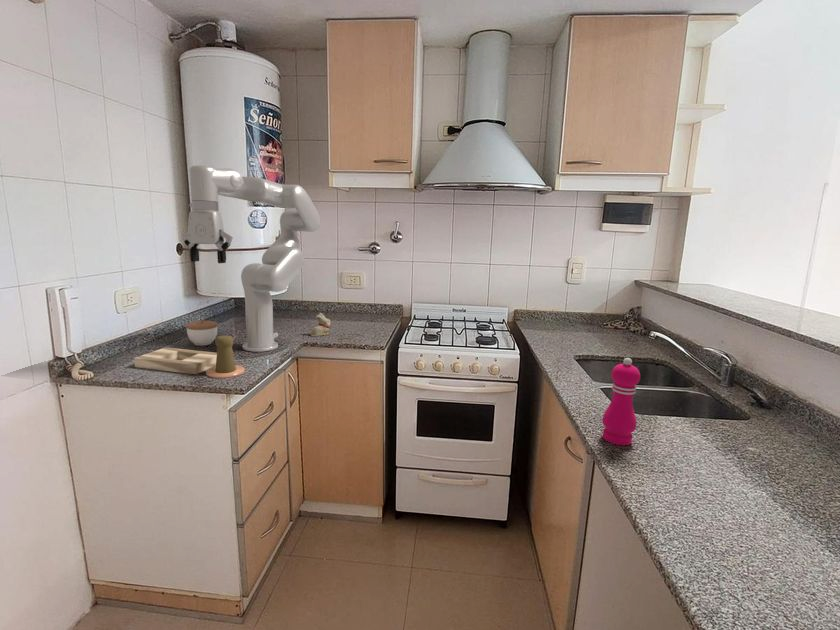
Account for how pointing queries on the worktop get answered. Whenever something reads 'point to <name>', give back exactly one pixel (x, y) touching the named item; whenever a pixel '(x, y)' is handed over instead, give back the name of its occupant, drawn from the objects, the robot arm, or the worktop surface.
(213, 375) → the coaster
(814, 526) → the worktop surface
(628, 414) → the pepper mill
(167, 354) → the wooden tray
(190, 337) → the white bowl
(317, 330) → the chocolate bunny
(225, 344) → the olive waisted cylinder
